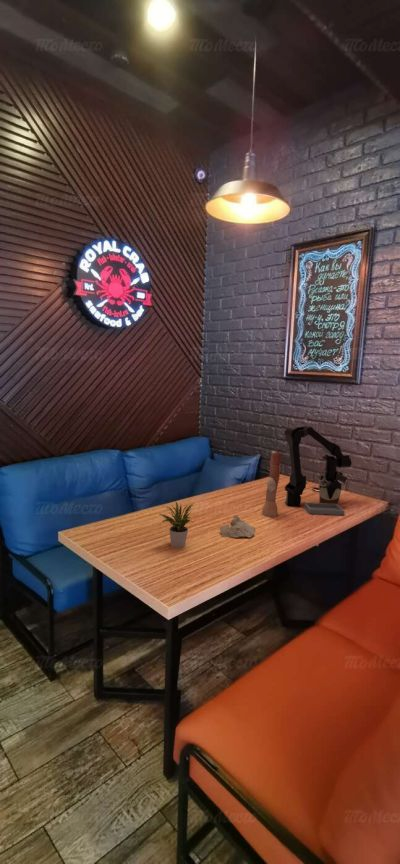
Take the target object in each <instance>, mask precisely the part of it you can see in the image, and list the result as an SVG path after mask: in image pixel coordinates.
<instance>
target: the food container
mask: <svg viewBox="0 0 400 864" xmlns="http://www.w3.org/2000/svg"><path fill="white" fill-rule="evenodd" d="M326 486H327V483H321V482H320V483H319V485H318V487H317V489H319V490H318V493H319V496H318V497H319V498H318V499H319V500H318V501H319V502H318V503H328V504H338V505H339V502H340V497H341V494H342V493H341V492H342V491H343V486H341V488H338V489H336V490H335V492H334V494H333V496H332V499H329V496H328V492H327V488H326Z"/></svg>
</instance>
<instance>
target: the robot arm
mask: <svg viewBox="0 0 400 864" xmlns="http://www.w3.org/2000/svg"><path fill="white" fill-rule="evenodd" d="M284 436H285V441H286V442H287V444H288V446H289V457H290V458H289V461H290V468H291V469H290V470H291V472H290V473H291V474H290V476H289V482H288V483H287V484H286V485H285V486H284V491H286V496H285V498H286V499H285V501H284V503H285V505H286V506H287V507H301V502H302V495H303V493H304V491H305V489H306V487H307V484H308V483H307V476H306V475H304V474H303V473H302V465H301V454H300V444H301V442H302V438H304V437H309V438H310V439H312V440H313V441H315V442H316V443H317V444H318V445H319V446H320V447H321V449H322V450H323V451H324V452H325V453H326V454H325V455H324V456H322V457H321V458H322V460H325V468H323V472H324V474H321V473H320V475H318V480H319V482H320V483H327V486H326V488H327V492H328V496H329V499H332V496H333V494H334V492H335V490H336V489H338V488H341V486H342V485H343V484H346V482H347V480H348V477H347V476H345V475H344V474H343V472H342V471H338V470H337V469H338V468H339V469H342V468H343V469H345V468H347V469H348V468H351V466H352V463H353V462H352V459H351V458H350V454H343V452H342V451H341V449H342V448H341V446H340V445H338V444H336V443H334V442H331V441H330V440H328V439H327V438H325V436H323V435H322V434H320V433H319V432H318V431H316V430H315V429H314V428H313V427H312V426H308V425H304V426H297V427H292V426H290V427H287V428H286V429H285V430H284ZM342 483H343V484H342ZM342 487H343V486H342Z"/></svg>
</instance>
